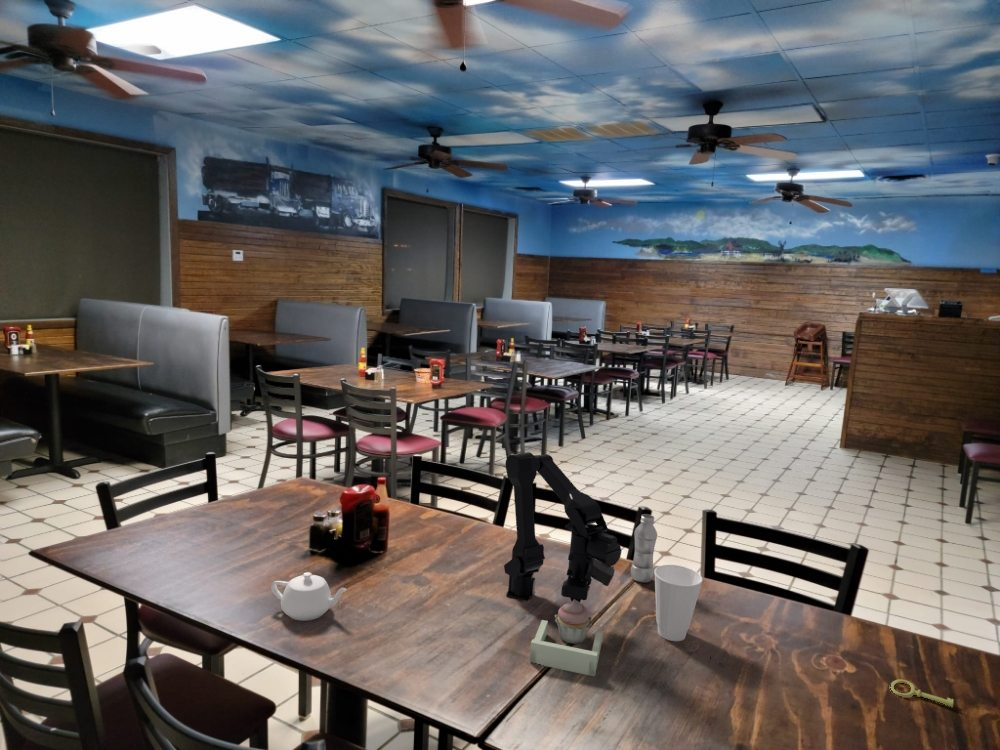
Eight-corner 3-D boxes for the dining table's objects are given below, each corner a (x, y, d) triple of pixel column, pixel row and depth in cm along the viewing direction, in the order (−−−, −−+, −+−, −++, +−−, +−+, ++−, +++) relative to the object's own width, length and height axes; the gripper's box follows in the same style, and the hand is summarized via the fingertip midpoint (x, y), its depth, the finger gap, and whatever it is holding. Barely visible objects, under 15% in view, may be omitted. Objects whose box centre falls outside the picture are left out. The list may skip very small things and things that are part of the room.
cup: (696, 628, 173) (703, 570, 171) (694, 651, 162) (701, 589, 160) (650, 617, 177) (656, 560, 175) (644, 639, 166) (651, 579, 163)
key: (955, 713, 146) (957, 704, 145) (891, 697, 150) (893, 688, 150) (946, 694, 152) (948, 686, 152) (885, 680, 157) (887, 672, 156)
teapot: (355, 606, 172) (356, 569, 171) (334, 631, 160) (335, 591, 159) (284, 594, 176) (284, 558, 174) (258, 617, 164) (259, 578, 162)
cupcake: (568, 623, 171) (572, 586, 170) (598, 638, 165) (601, 601, 163) (544, 635, 165) (548, 597, 163) (574, 652, 158) (578, 613, 157)
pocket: (529, 662, 153) (531, 642, 152) (540, 632, 166) (542, 614, 165) (594, 676, 149) (596, 655, 148) (601, 645, 162) (603, 626, 161)
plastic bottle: (652, 586, 195) (660, 521, 192) (629, 583, 196) (636, 518, 193) (652, 577, 201) (659, 514, 198) (629, 573, 202) (636, 511, 199)
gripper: (610, 571, 155) (604, 633, 158) (616, 541, 173) (611, 597, 176) (563, 563, 158) (558, 624, 161) (574, 534, 176) (569, 589, 179)
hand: (576, 608), depth 169 cm, fingers closed
